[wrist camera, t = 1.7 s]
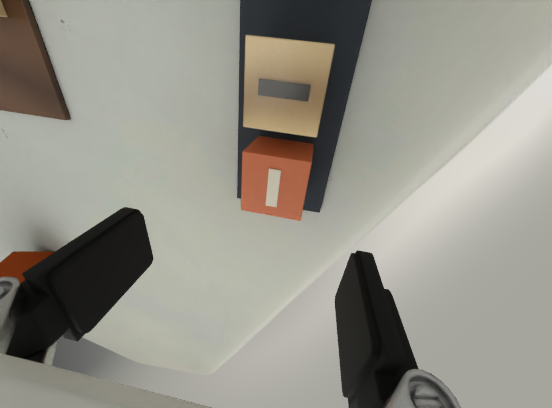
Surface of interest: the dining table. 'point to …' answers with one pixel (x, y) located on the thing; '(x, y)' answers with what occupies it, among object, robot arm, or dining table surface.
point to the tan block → (285, 84)
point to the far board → (26, 66)
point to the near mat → (347, 38)
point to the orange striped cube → (275, 176)
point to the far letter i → (2, 10)
